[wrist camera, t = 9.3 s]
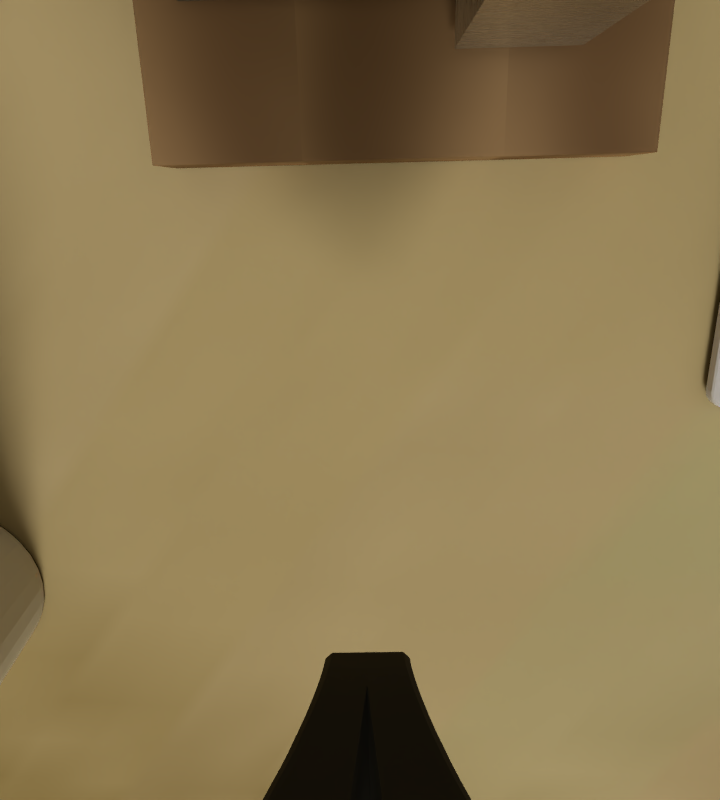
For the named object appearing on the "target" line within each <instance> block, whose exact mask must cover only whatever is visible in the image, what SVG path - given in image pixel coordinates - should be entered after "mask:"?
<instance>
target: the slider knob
mask: <svg viewBox="0 0 720 800" xmlns="http://www.w3.org/2000/svg"><path fill="white" fill-rule="evenodd" d="M648 1H649V0H456V6H455V49H467V48H500V47H533V46H567V45H584V44H585V43H587V42H588V41H590V40H591V39H593V38H594V37H596V36H597V35H599V34H600V33H602V32H603V31H605V30H606V29H608V28H609V27H611V26H612V25H614V24H615V23H617V22H618V21H620V20H621V19H623V18H624V17H626V16H627V15H629V14H630V13H631V12H633V11H634V10H636V9H637V8H639V7H640V6H642V5H643V4H645V3H646V2H648Z"/></svg>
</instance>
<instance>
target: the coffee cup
mask: <svg viewBox="0 0 720 800" xmlns="http://www.w3.org/2000/svg"><path fill="white" fill-rule="evenodd" d="M43 604H44V591H43V583H42V579H41V576H40V573H39V570H38V568H37V566H36V564H35V562H34V560H33V559H32V557H31V555H30V554H29V553H28V551H27V550H26V549H25V548H24V547H23V545H22V544H21V543H20V542H19V541H18V540H17V539H16V538H15V537H13V536H12V535H11V534H10V533H9V532H8V531H7V530H5V529H3V528H2V527H0V684H1V682H2V681H3V679H4V678H5V676H6V674H7V673H8V671H9V670H10V668H11V667H12V665H13V663H14V662H15V660H16V659H17V657H18V655H19V654H20V652H21V651H22V649H23V648H24V646H25V644H26V643H27V641H28V640H29V638H30V636H31V635H32V633H33V631H34V630H35V628H36V626H37V624H38V621H39V619H40V617H41V615H42V610H43Z"/></svg>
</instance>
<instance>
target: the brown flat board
mask: <svg viewBox="0 0 720 800" xmlns="http://www.w3.org/2000/svg"><path fill="white" fill-rule="evenodd" d="M674 3H675V0H649V1H648V2H646V3H645V4H643V5H642V6H640V7H639V8H637V9H636V10H634V11H633V12H631V13H630V14H629V15H627V16H626V17H624V18H623V19H621V20H620V21H618V22H617V23H615V24H614V25H612V26H611V27H609V28H608V29H606V30H605V31H603V32H602V33H600V34H599V35H597V36H596V37H594V38H593V39H591V40H590V41H588V42H587V43H585V44H584V45H567V46H533V47H500V48H467V49H455V6H456V0H133V7H134V15H135V24H136V32H137V40H138V48H139V57H140V65H141V73H142V81H143V90H144V98H145V106H146V114H147V123H148V131H149V139H150V147H151V155H152V164H153V166H162V167H171V168H203V167H240V166H278V165H315V164H353V163H390V162H428V161H465V160H503V159H540V158H578V157H615V156H630V155H638V154H645V153H653V152H657V148H658V140H659V131H660V123H661V114H662V106H663V97H664V89H665V80H666V71H667V63H668V54H669V46H670V37H671V29H672V20H673V12H674Z"/></svg>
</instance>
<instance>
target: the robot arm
mask: <svg viewBox="0 0 720 800" xmlns="http://www.w3.org/2000/svg"><path fill="white" fill-rule="evenodd" d="M706 396H707V398H708V399H709V401H711V402H712V403H713V404H715V405H717V406H718V407H720V304H719V310H718V317H717V323H716V329H715V336H714V342H713V348H712V355H711V361H710V367H709V374H708V380H707V386H706ZM263 800H471V798H470V797H469V795H468V793H467V791H466V790H465V788H464V786H463V784H462V782H461V781H460V779H459V777H458V775H457V773H456V771H455V769H454V767H453V765H452V763H451V761H450V759H449V757H448V755H447V753H446V751H445V749H444V747H443V745H442V743H441V741H440V739H439V737H438V735H437V733H436V731H435V728H434V726H433V724H432V722H431V719H430V717H429V715H428V712H427V710H426V707H425V705H424V702H423V700H422V697H421V695H420V692H419V689H418V687H417V684H416V681H415V678H414V674H413V671H412V667H411V663H410V658H409V657H408V656H407V655H406V654H405V653H404V652H365V653H332V654H330V655H329V656H328V657H327V658H326V660H325V664H324V668H323V671H322V674H321V678H320V681H319V683H318V686H317V689H316V692H315V694H314V697H313V699H312V702H311V704H310V706H309V709H308V711H307V714H306V716H305V718H304V720H303V723H302V725H301V727H300V729H299V731H298V733H297V735H296V737H295V739H294V742H293V744H292V746H291V748H290V750H289V752H288V754H287V756H286V758H285V760H284V762H283V764H282V766H281V768H280V769H279V771H278V773H277V775H276V777H275V778H274V780H273V782H272V784H271V786H270V788H269V789H268V791H267V793H266V795H265V797H264V798H263Z"/></svg>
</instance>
